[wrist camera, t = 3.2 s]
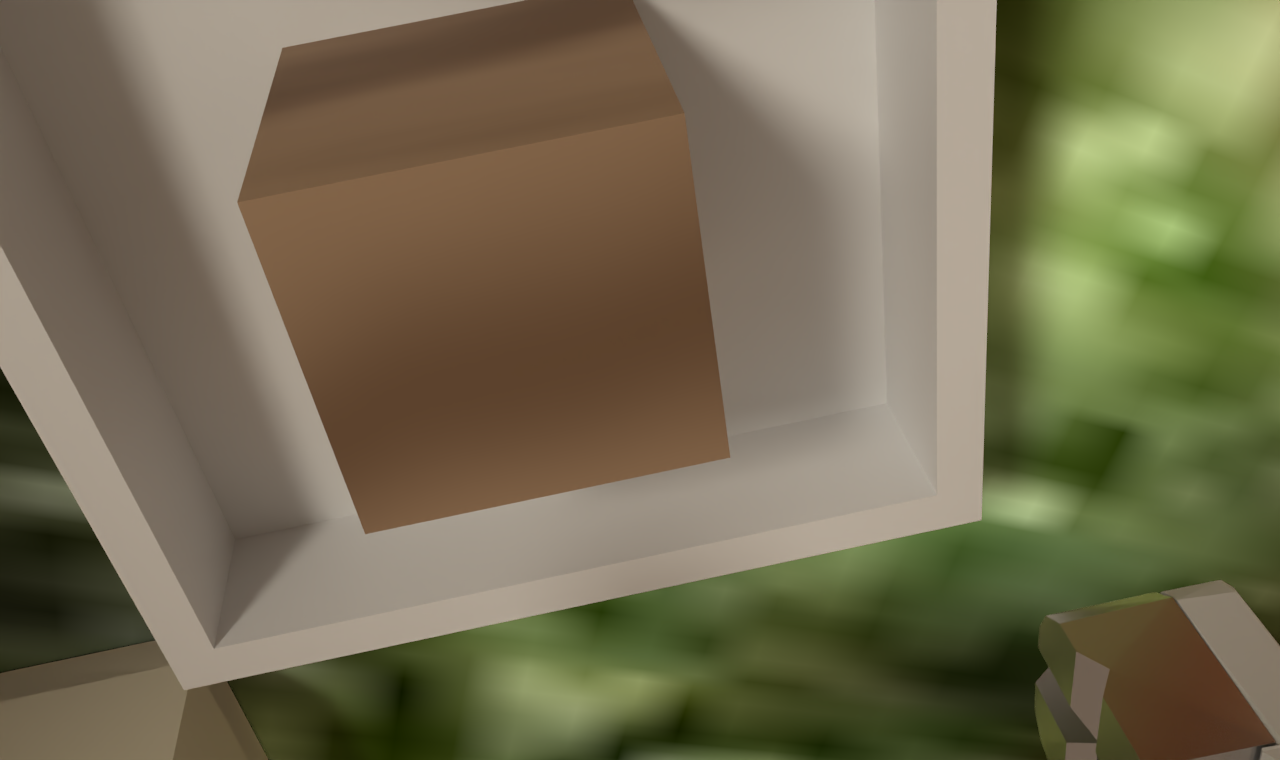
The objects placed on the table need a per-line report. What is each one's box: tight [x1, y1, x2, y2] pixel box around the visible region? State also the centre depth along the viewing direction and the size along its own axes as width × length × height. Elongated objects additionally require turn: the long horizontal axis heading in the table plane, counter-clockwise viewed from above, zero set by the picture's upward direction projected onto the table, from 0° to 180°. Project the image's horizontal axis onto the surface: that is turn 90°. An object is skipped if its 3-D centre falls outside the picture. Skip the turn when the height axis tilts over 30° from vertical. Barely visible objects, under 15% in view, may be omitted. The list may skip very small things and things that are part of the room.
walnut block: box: [237, 0, 730, 534], centre depth 17 cm, size 5×5×5 cm
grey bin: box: [0, 0, 997, 690], centre depth 18 cm, size 14×14×4 cm
